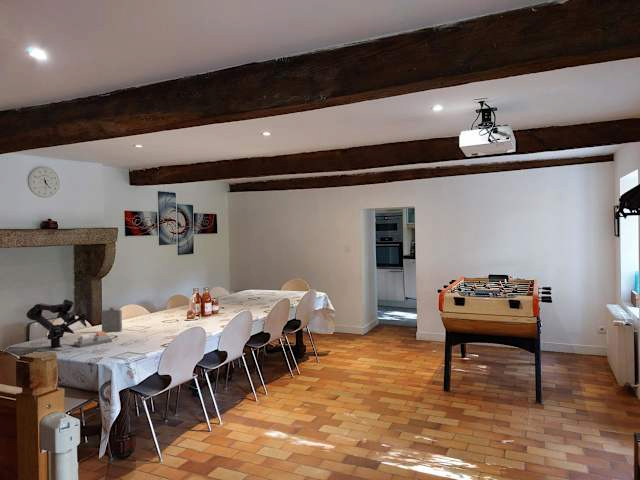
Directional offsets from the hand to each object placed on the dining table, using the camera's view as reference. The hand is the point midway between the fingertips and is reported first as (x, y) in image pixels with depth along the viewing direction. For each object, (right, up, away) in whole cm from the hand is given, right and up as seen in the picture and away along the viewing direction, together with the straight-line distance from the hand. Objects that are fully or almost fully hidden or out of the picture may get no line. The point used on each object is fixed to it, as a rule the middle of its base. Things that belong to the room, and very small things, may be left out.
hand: (80, 329), depth 310 cm
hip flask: (-5, -13, +58) cm, 60 cm away
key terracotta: (+3, -10, +22) cm, 25 cm away
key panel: (0, -14, +18) cm, 23 cm away
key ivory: (-4, -10, +14) cm, 18 cm away
